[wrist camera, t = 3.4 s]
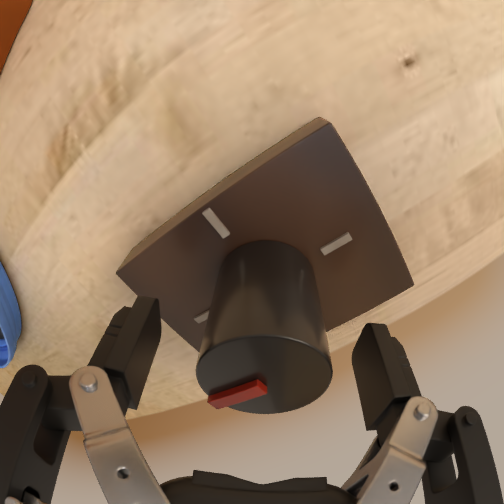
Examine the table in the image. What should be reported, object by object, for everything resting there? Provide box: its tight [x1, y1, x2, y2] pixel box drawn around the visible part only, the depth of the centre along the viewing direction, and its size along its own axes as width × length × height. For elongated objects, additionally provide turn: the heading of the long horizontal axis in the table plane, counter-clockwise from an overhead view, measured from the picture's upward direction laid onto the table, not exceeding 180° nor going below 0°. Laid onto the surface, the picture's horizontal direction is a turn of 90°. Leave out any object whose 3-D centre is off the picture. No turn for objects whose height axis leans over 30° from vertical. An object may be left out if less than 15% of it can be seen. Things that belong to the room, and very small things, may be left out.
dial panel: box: [116, 117, 414, 352], centre depth 15 cm, size 12×9×3 cm
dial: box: [196, 240, 333, 414], centre depth 11 cm, size 4×4×6 cm
